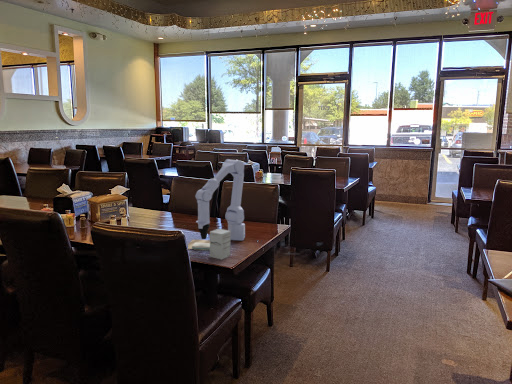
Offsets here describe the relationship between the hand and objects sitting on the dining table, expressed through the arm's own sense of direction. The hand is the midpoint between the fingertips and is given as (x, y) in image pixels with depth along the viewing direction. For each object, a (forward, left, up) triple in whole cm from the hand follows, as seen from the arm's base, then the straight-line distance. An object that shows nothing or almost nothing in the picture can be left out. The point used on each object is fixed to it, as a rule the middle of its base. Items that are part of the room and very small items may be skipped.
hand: (203, 238), depth 192 cm
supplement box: (-11, +13, -5) cm, 18 cm away
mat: (+1, -3, -4) cm, 5 cm away
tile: (0, -1, -3) cm, 3 cm away
